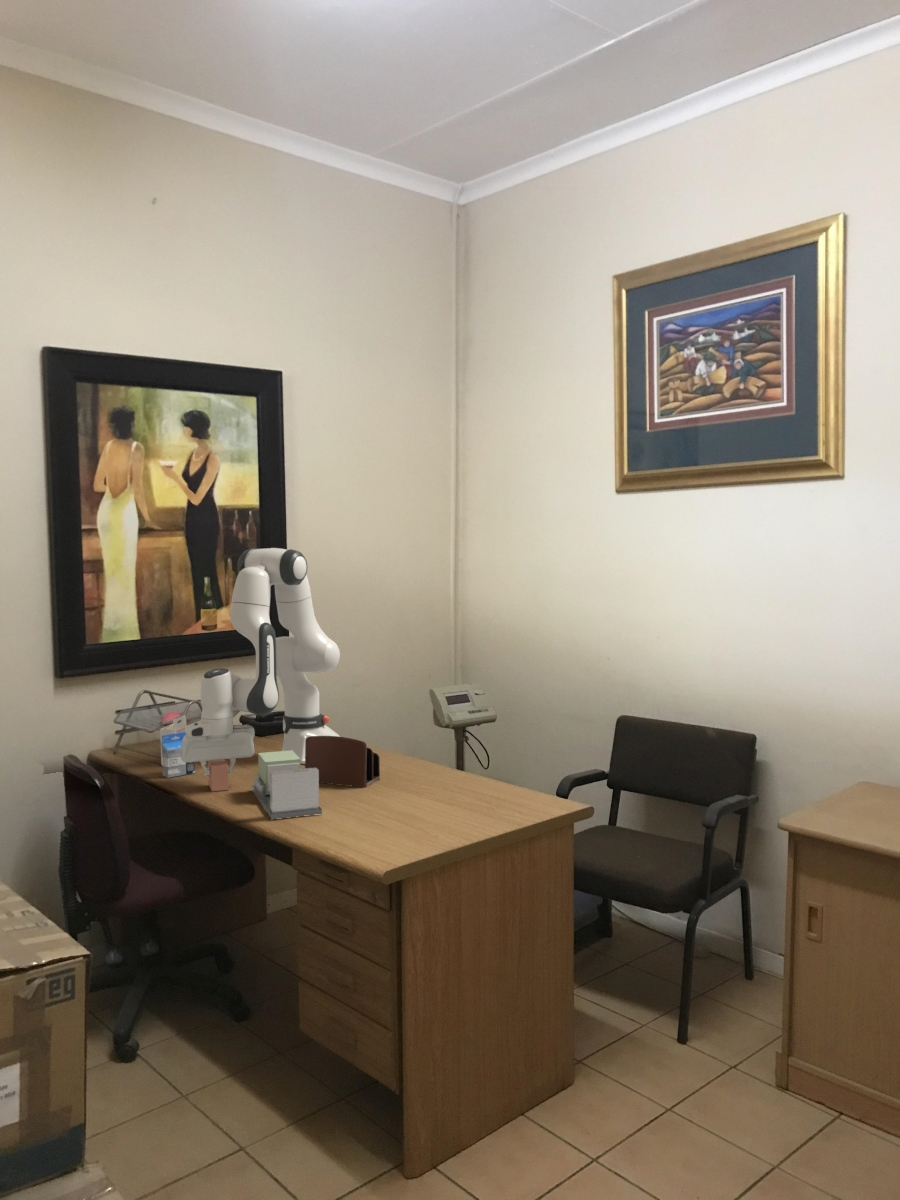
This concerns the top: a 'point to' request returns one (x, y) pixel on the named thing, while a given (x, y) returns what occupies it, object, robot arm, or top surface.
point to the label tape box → (174, 757)
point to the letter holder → (342, 760)
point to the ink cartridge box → (173, 729)
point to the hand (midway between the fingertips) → (218, 774)
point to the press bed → (290, 793)
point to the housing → (218, 775)
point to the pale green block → (276, 764)
